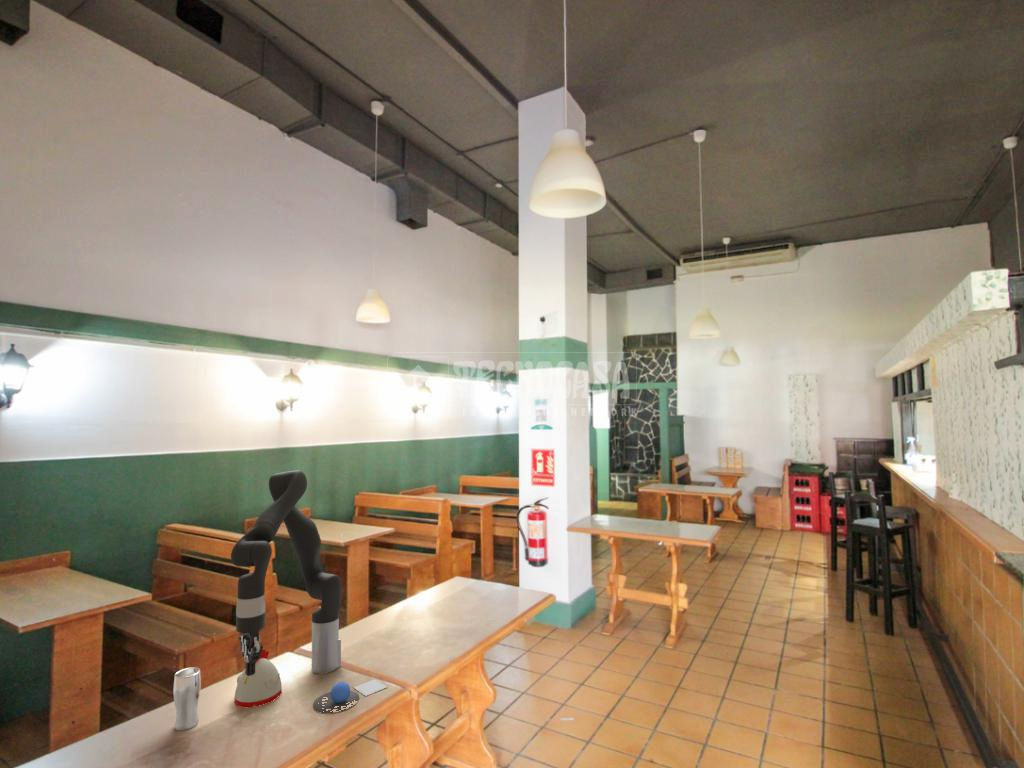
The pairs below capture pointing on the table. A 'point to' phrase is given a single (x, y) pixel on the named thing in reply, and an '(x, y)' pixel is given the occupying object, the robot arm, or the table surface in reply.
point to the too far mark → (370, 687)
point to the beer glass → (186, 697)
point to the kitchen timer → (258, 684)
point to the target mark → (331, 703)
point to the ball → (340, 692)
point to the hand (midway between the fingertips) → (250, 674)
